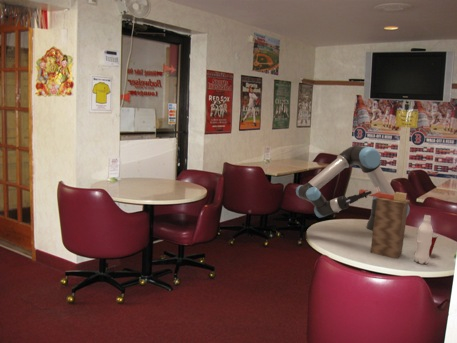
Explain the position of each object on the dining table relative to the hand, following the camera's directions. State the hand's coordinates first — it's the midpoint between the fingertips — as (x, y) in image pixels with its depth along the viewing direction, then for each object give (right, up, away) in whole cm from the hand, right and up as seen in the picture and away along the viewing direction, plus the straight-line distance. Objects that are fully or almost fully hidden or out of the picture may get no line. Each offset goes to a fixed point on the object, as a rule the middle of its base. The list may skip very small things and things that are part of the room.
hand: (378, 189), depth 248 cm
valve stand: (+5, -35, +1) cm, 35 cm away
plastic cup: (+26, -36, +3) cm, 45 cm away
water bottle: (+19, -38, -11) cm, 43 cm away
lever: (+2, -4, -1) cm, 5 cm away
